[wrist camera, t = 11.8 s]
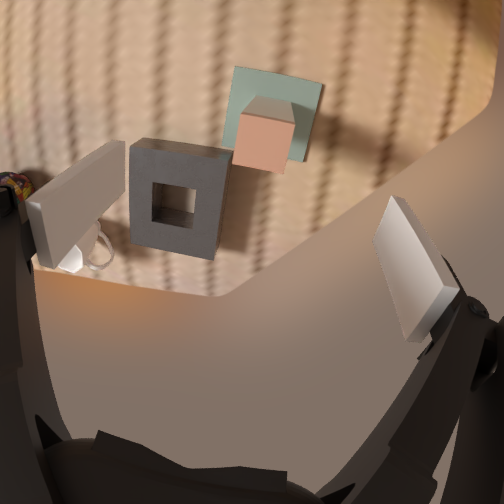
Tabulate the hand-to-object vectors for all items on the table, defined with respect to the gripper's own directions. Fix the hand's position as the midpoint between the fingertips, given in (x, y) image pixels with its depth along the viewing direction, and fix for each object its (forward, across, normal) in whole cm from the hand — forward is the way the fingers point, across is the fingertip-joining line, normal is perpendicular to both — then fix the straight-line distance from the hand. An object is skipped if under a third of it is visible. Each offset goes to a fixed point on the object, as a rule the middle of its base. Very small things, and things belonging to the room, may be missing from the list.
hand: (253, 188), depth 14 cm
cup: (+24, -24, -22) cm, 40 cm away
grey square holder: (+24, -10, -13) cm, 29 cm away
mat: (+24, 0, -1) cm, 24 cm away
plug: (+23, 0, -1) cm, 23 cm away
